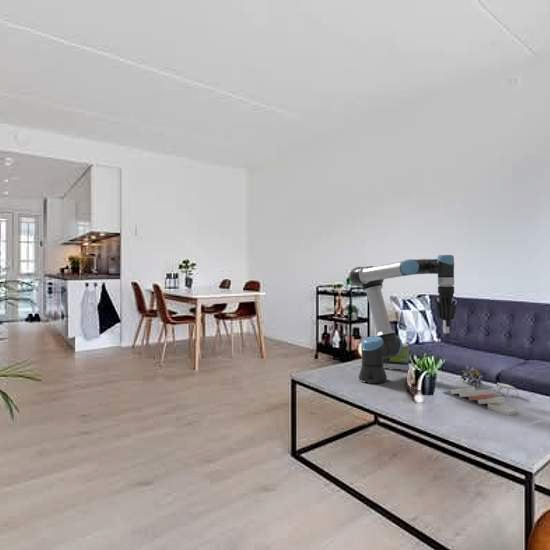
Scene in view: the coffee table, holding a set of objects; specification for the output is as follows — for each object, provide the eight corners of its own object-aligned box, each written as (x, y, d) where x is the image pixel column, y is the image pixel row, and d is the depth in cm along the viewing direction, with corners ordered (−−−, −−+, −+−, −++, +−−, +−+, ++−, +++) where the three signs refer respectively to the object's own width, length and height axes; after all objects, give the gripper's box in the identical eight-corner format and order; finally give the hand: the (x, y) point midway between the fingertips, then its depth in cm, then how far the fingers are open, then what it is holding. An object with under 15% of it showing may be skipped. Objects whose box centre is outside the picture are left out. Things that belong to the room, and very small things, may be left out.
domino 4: (477, 399, 182) (495, 398, 173) (485, 398, 184) (503, 396, 175) (478, 404, 181) (497, 402, 173) (486, 402, 183) (505, 400, 175)
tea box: (409, 367, 248) (409, 343, 247) (407, 371, 239) (407, 346, 238) (384, 365, 254) (384, 341, 253) (381, 369, 245) (381, 344, 244)
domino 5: (487, 403, 177) (508, 411, 168) (495, 401, 179) (516, 409, 170) (487, 407, 177) (508, 416, 168) (495, 405, 179) (516, 414, 170)
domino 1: (450, 390, 196) (466, 388, 187) (457, 388, 198) (473, 387, 189) (451, 394, 195) (467, 392, 187) (458, 392, 197) (475, 390, 189)
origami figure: (489, 394, 195) (489, 384, 195) (497, 391, 200) (497, 381, 200) (516, 401, 185) (516, 391, 185) (524, 397, 190) (524, 387, 190)
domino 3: (477, 399, 188) (494, 397, 179) (469, 400, 186) (487, 399, 177) (475, 395, 188) (493, 393, 180) (468, 396, 186) (485, 394, 178)
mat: (441, 393, 198) (441, 392, 198) (456, 390, 202) (456, 389, 202) (486, 410, 175) (486, 409, 175) (501, 406, 179) (501, 405, 179)
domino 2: (458, 393, 191) (475, 391, 183) (466, 391, 193) (483, 390, 185) (459, 397, 191) (476, 395, 182) (467, 395, 193) (484, 394, 184)
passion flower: (476, 397, 207) (473, 382, 201) (456, 388, 216) (453, 373, 210) (487, 382, 212) (484, 366, 206) (467, 374, 220) (464, 359, 214)
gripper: (430, 285, 204) (430, 331, 205) (450, 286, 192) (451, 335, 193) (441, 284, 207) (441, 330, 208) (462, 286, 195) (462, 334, 196)
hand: (446, 332), depth 200 cm, fingers closed
